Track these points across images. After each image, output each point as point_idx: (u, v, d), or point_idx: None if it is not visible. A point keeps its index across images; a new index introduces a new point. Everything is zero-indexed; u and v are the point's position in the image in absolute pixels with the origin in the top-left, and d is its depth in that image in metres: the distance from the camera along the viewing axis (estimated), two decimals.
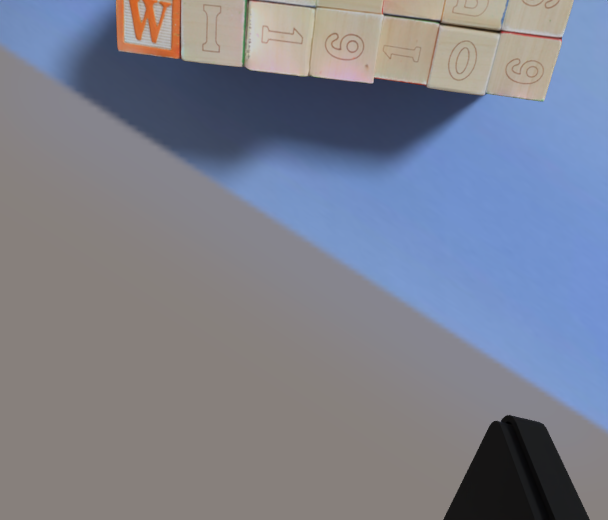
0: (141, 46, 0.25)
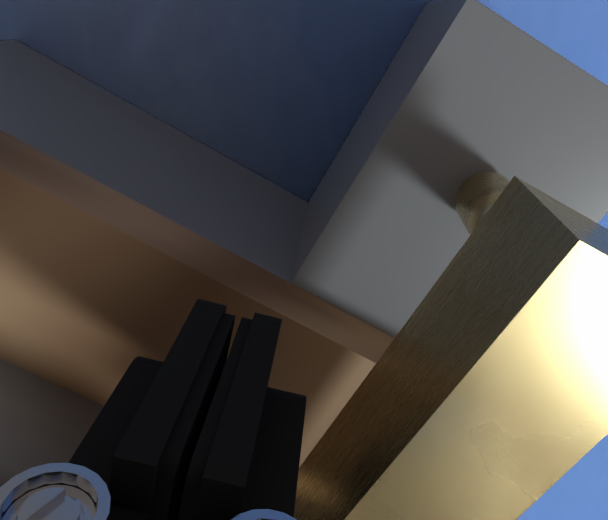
0: None
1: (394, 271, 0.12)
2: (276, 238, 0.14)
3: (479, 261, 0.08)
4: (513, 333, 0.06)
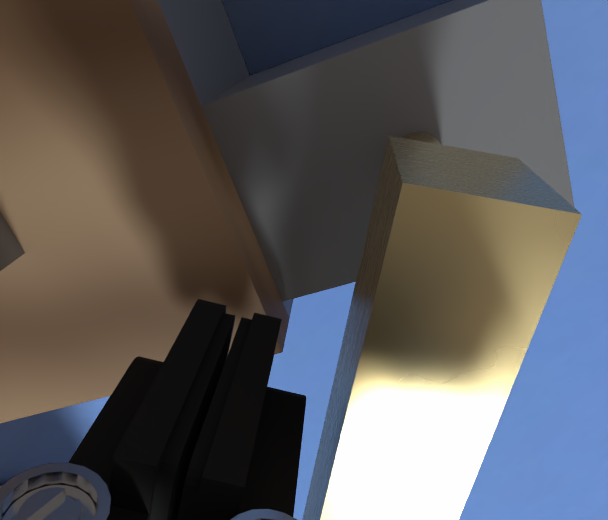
0: None
1: (298, 167, 0.12)
2: (210, 66, 0.13)
3: (374, 226, 0.08)
4: (386, 286, 0.06)
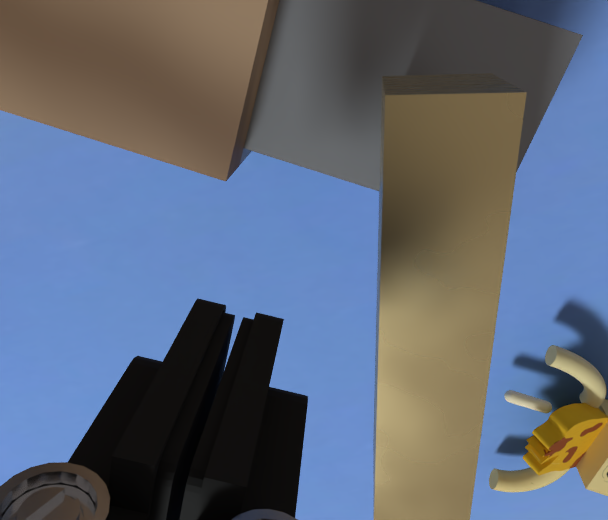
0: None
1: (331, 48, 0.13)
2: None
3: (381, 147, 0.10)
4: (390, 179, 0.08)
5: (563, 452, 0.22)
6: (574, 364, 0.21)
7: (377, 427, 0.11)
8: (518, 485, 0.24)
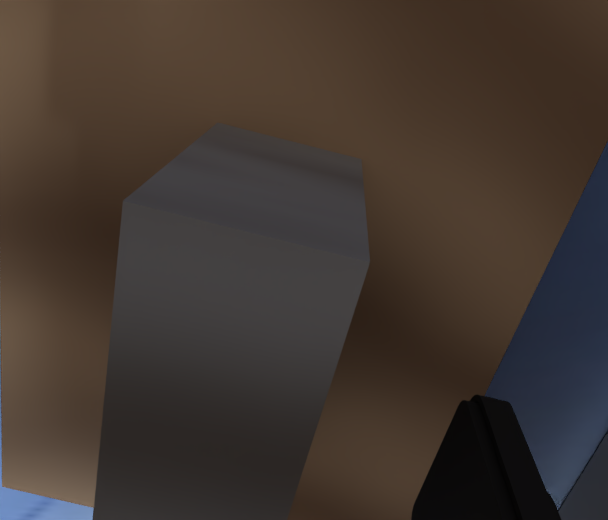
0: None
1: None
2: None
3: None
4: None
5: None
6: None
7: None
8: None
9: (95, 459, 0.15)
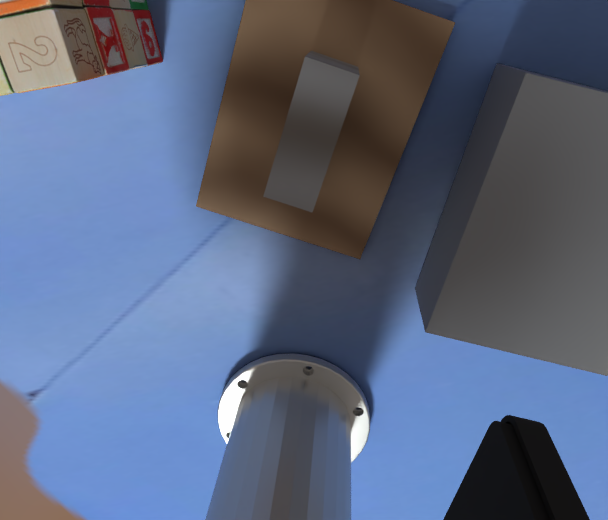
0: None
1: None
2: None
3: None
4: None
5: None
6: None
7: None
8: None
9: (239, 192, 0.36)
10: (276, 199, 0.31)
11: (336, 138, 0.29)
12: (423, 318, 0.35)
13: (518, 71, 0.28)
